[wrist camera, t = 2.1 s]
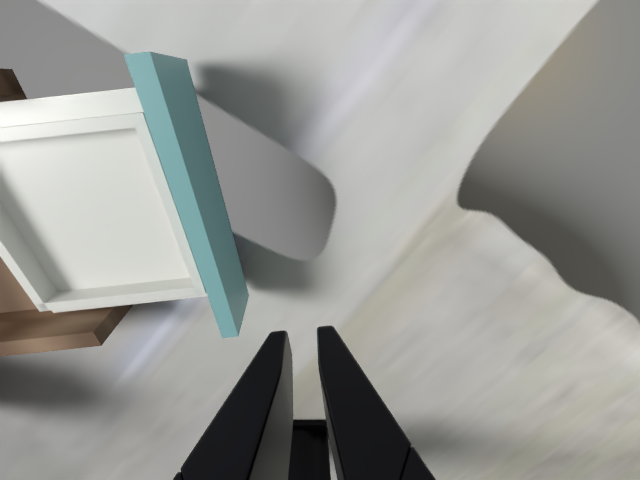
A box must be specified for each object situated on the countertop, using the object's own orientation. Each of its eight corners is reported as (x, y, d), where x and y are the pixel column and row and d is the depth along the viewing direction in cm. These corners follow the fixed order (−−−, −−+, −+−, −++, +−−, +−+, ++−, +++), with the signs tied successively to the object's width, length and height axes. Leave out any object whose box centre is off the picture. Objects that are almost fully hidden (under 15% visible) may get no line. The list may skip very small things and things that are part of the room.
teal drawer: (69, 314, 22) (24, 359, 18) (-79, 88, 15) (-200, 89, 11) (248, 295, 22) (238, 336, 18) (186, 59, 15) (149, 51, 11)
